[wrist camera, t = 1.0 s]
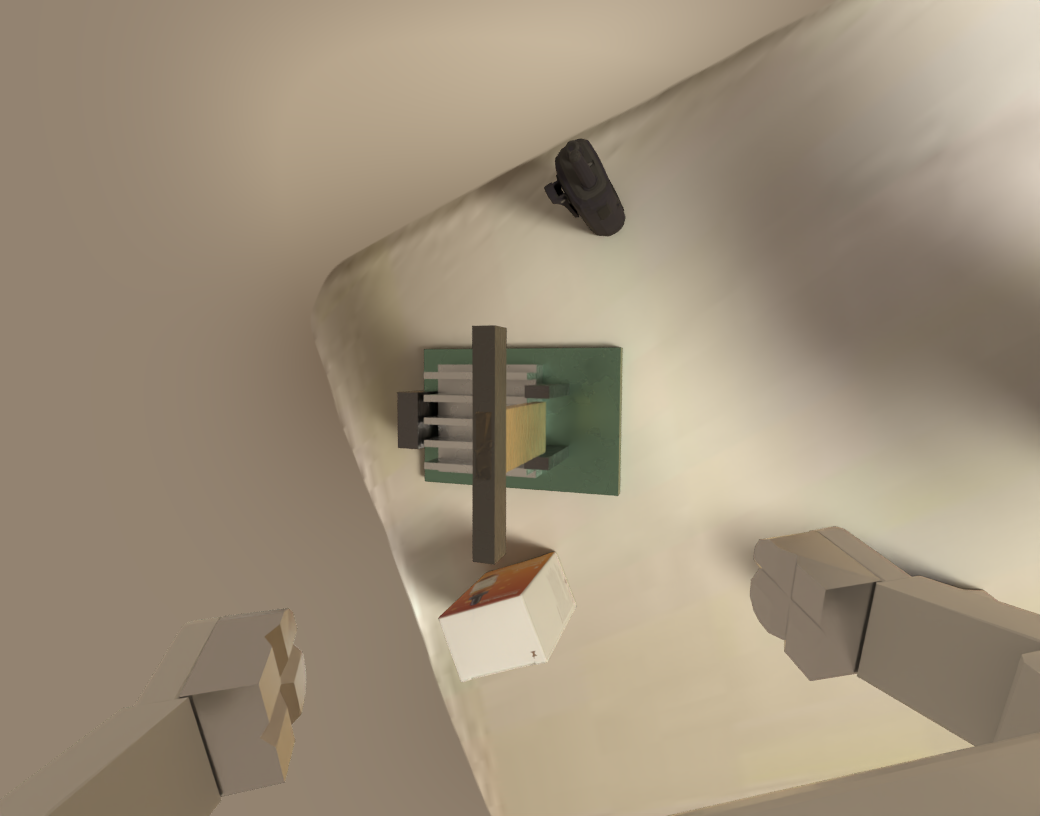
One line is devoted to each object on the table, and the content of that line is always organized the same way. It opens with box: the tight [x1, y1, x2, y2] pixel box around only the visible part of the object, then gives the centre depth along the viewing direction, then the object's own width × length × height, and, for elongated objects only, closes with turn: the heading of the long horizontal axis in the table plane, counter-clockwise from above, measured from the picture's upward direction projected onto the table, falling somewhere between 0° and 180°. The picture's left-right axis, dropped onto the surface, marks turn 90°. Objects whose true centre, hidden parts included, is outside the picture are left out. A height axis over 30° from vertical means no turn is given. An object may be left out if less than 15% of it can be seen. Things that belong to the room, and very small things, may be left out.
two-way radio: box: [544, 139, 625, 236], centre depth 41 cm, size 6×4×15 cm
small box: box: [438, 552, 576, 682], centre depth 47 cm, size 8×6×10 cm
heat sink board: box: [398, 348, 623, 496], centre depth 47 cm, size 19×13×8 cm
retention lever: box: [472, 326, 546, 564], centre depth 37 cm, size 1×14×12 cm, turn 0°
